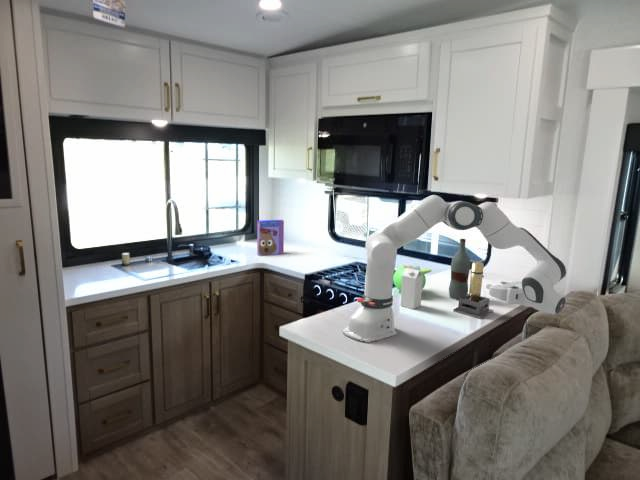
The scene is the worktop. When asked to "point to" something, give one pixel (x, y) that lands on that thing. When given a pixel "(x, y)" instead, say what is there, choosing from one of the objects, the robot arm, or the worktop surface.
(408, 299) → the milk carton
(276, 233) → the cereal box
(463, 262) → the bottle
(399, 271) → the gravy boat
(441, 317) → the worktop surface
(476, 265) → the brass tube
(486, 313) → the collar stand
